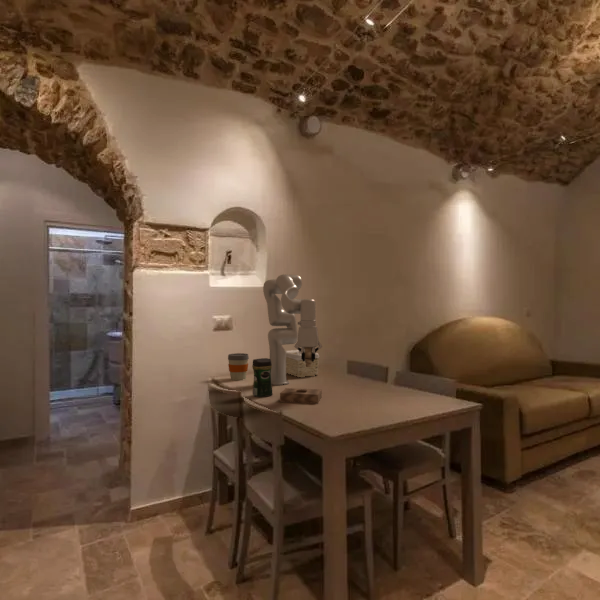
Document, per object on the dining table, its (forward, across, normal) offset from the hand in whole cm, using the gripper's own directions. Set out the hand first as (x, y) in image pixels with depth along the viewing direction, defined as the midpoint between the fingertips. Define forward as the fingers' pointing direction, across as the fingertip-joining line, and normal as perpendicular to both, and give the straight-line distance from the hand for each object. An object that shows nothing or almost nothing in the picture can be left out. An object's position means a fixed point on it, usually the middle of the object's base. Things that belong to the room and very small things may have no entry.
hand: (308, 360), depth 213 cm
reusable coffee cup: (+17, -49, +42) cm, 67 cm away
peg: (+3, 0, 0) cm, 3 cm away
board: (+18, -2, -8) cm, 19 cm away
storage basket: (+17, -15, +64) cm, 67 cm away
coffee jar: (+18, -23, -1) cm, 29 cm away
